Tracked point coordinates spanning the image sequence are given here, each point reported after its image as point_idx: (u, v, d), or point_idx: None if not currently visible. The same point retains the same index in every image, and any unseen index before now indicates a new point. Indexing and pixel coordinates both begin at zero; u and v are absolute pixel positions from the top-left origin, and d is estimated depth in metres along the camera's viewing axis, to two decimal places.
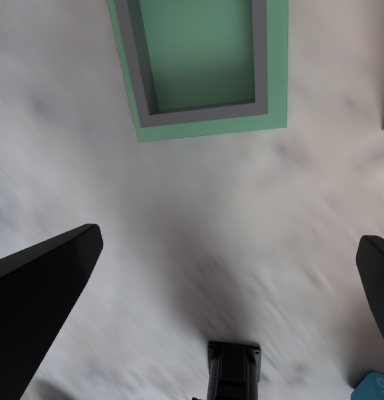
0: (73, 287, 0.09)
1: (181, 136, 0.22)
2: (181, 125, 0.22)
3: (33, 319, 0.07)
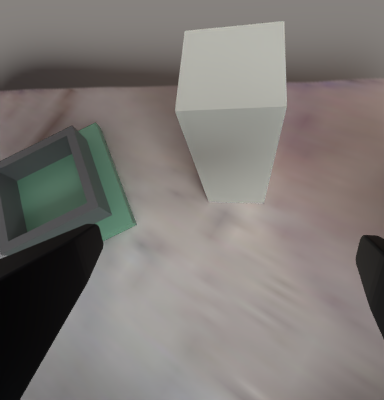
0: (73, 287, 0.09)
1: None
2: None
3: (33, 319, 0.07)
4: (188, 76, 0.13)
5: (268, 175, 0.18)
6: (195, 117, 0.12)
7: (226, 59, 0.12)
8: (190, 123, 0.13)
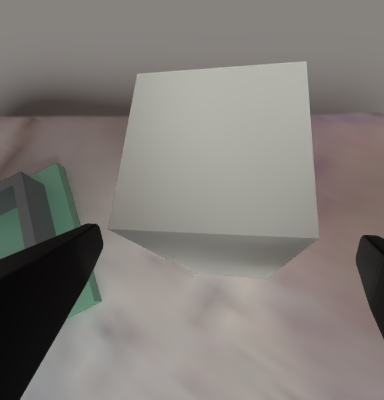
0: (73, 287, 0.09)
1: None
2: None
3: (33, 319, 0.07)
4: (136, 159, 0.07)
5: (274, 269, 0.12)
6: (147, 235, 0.07)
7: (204, 129, 0.07)
8: (142, 238, 0.07)
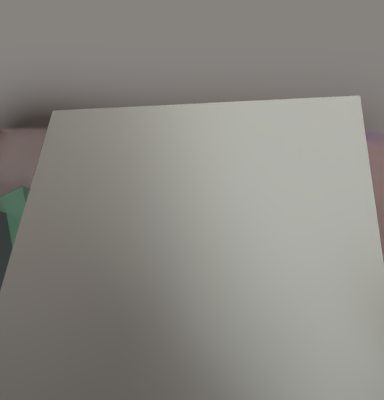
0: None
1: None
2: None
3: None
4: (29, 291, 0.04)
5: None
6: None
7: (160, 233, 0.04)
8: None
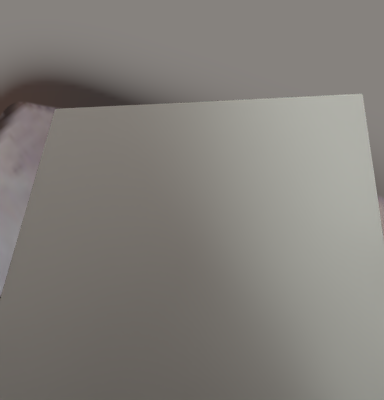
0: None
1: None
2: None
3: None
4: (31, 288, 0.04)
5: None
6: None
7: (162, 230, 0.04)
8: None
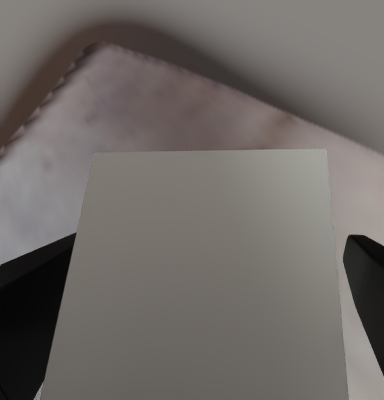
0: None
1: None
2: None
3: (45, 320, 0.07)
4: (85, 292, 0.05)
5: None
6: None
7: (181, 250, 0.05)
8: None
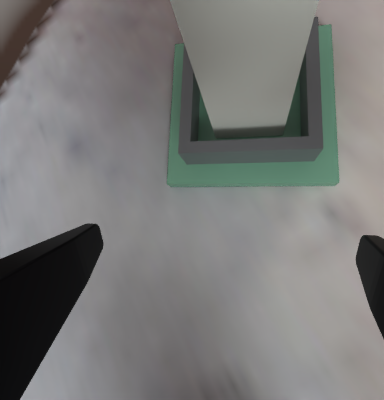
0: (73, 287, 0.09)
1: (216, 182, 0.20)
2: (218, 170, 0.20)
3: (33, 319, 0.07)
4: None
5: (292, 87, 0.13)
6: None
7: None
8: None
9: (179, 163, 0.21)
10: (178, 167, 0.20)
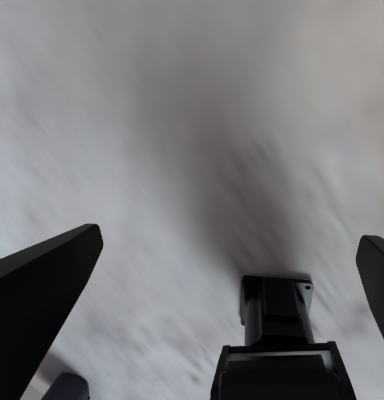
0: (73, 287, 0.09)
1: None
2: None
3: (33, 319, 0.07)
4: None
5: None
6: None
7: None
8: None
9: None
10: None
